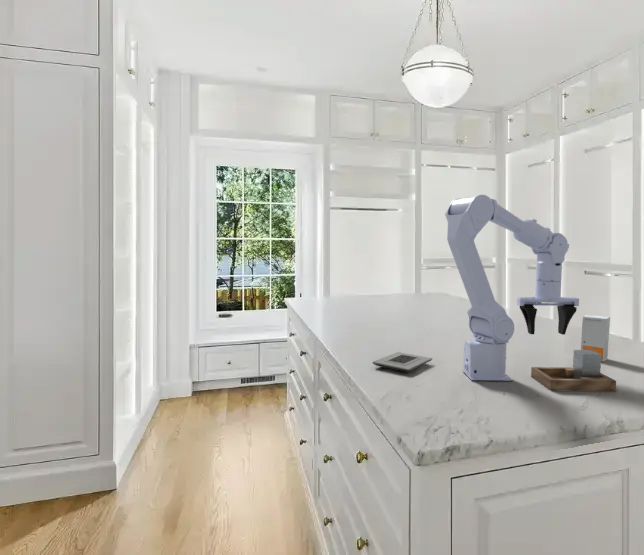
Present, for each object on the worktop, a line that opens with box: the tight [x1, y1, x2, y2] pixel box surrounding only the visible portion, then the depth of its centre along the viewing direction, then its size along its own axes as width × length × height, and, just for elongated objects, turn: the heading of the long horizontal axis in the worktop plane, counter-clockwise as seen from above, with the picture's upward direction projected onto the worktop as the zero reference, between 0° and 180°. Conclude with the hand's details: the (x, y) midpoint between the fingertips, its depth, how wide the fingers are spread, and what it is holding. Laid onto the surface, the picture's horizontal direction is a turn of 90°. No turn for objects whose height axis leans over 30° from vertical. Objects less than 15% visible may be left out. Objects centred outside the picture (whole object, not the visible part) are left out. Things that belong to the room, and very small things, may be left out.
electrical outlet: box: [372, 351, 433, 373], centre depth 116 cm, size 13×10×2 cm
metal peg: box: [572, 349, 602, 379], centre depth 101 cm, size 4×4×7 cm
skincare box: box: [580, 314, 611, 362], centre depth 122 cm, size 6×4×12 cm
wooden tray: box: [530, 366, 617, 392], centre depth 101 cm, size 14×10×2 cm
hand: (546, 333), depth 111 cm, fingers open, 7 cm apart
